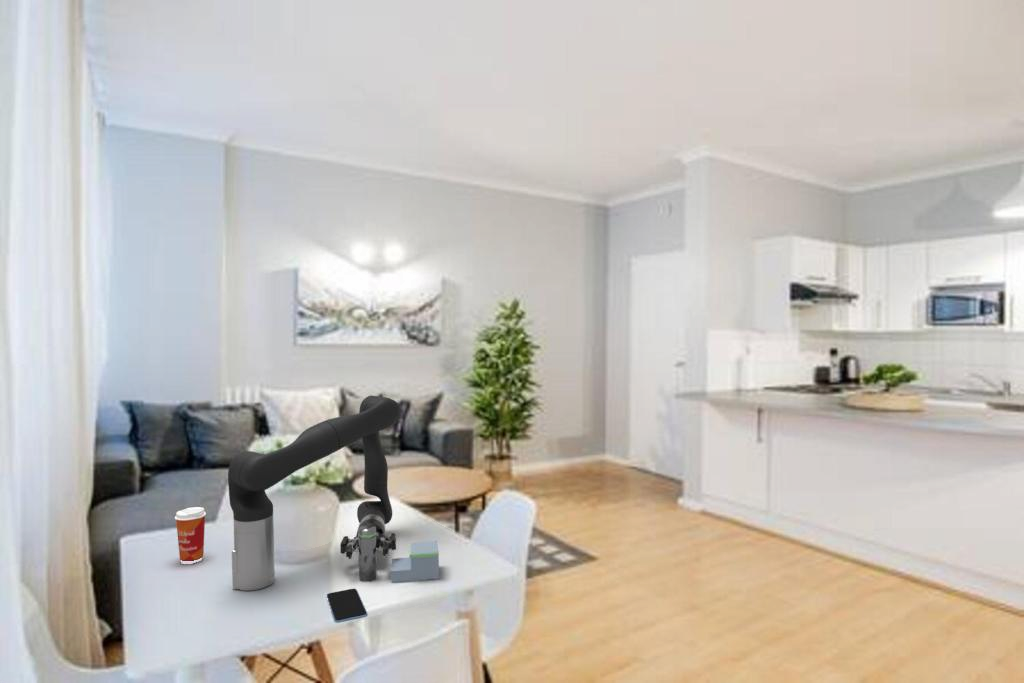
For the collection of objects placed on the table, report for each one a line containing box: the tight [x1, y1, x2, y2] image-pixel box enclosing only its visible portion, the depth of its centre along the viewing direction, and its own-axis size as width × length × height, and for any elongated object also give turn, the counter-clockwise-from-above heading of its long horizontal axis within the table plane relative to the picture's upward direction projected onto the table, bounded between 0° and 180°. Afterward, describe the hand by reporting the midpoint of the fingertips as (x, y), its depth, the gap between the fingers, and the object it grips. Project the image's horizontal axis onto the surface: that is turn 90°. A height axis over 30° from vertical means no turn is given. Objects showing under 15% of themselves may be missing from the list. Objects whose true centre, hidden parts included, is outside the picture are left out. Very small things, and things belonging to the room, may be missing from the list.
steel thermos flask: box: [357, 525, 378, 583], centre depth 154 cm, size 5×5×13 cm
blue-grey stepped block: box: [390, 540, 440, 584], centre depth 155 cm, size 12×8×7 cm
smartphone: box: [326, 588, 368, 624], centre depth 139 cm, size 7×1×15 cm
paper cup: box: [174, 506, 207, 561], centre depth 165 cm, size 8×8×14 cm
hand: (367, 553), depth 152 cm, fingers open, 8 cm apart
